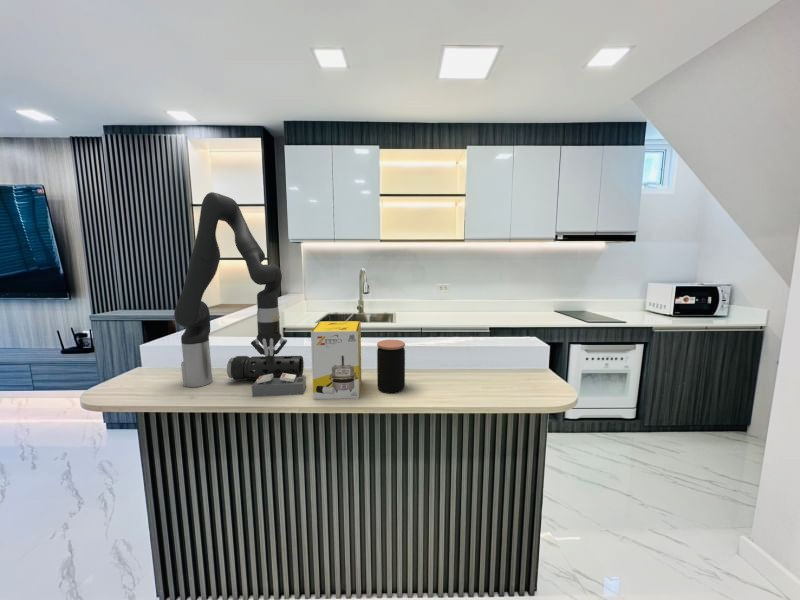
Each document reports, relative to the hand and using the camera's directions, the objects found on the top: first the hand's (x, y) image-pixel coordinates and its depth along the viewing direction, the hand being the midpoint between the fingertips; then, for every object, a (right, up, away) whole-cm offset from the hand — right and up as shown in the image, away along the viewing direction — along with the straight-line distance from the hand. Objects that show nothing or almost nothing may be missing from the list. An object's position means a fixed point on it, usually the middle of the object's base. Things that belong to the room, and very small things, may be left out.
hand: (270, 364), depth 123 cm
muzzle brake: (-6, -9, +13) cm, 17 cm away
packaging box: (+25, -10, +4) cm, 27 cm away
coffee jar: (+45, -10, +5) cm, 46 cm away
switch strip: (+3, -10, +2) cm, 11 cm away
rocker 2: (+6, -6, +2) cm, 9 cm away
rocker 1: (-2, -6, +1) cm, 6 cm away
